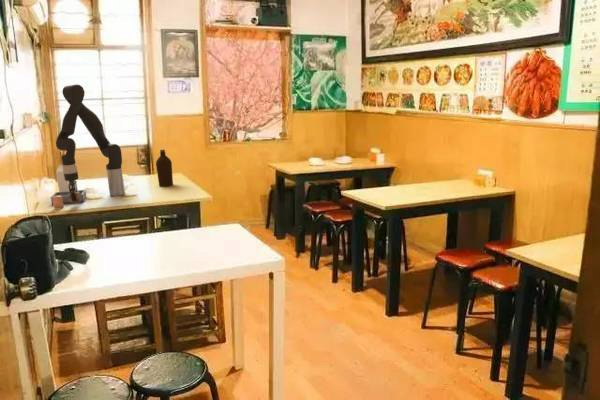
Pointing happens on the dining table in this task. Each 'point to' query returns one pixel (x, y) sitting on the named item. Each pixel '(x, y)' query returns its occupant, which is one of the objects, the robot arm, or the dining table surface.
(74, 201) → the walnut cube
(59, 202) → the terracotta cylinder
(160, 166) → the olive oil
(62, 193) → the tote
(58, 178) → the milk carton
